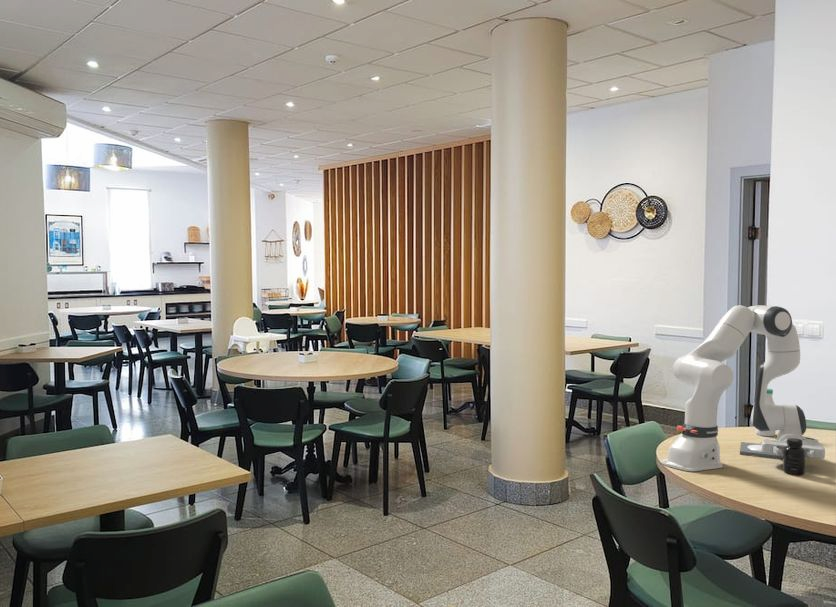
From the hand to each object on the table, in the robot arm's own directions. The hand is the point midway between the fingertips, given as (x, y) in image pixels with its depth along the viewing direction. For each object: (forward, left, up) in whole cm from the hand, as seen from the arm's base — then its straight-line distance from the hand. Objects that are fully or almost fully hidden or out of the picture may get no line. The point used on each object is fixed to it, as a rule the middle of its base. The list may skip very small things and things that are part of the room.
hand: (794, 454), depth 246 cm
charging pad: (+16, +21, -7) cm, 28 cm away
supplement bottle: (-1, -1, -7) cm, 7 cm away
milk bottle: (+44, +37, -7) cm, 59 cm away
